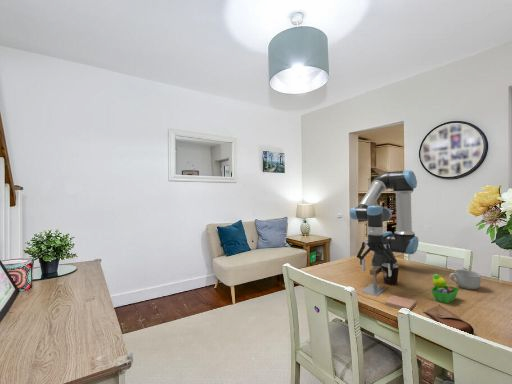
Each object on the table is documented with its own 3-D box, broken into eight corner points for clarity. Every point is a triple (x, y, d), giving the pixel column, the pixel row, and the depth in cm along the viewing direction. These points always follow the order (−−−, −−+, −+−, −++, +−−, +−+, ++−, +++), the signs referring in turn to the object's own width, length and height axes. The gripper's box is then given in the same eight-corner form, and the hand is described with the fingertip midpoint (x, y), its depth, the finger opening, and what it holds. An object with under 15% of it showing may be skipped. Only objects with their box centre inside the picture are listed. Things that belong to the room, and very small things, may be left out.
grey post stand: (372, 283, 146) (371, 264, 146) (387, 286, 140) (386, 267, 140) (361, 292, 134) (360, 271, 134) (377, 296, 128) (376, 275, 128)
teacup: (475, 284, 139) (474, 270, 139) (486, 292, 129) (485, 276, 129) (444, 282, 144) (444, 268, 144) (453, 289, 133) (452, 274, 133)
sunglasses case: (420, 311, 111) (428, 297, 111) (434, 319, 111) (442, 305, 111) (451, 334, 93) (460, 318, 93) (468, 344, 93) (477, 328, 93)
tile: (392, 295, 126) (385, 301, 119) (415, 300, 119) (409, 308, 112) (392, 298, 126) (385, 305, 119) (415, 304, 119) (409, 312, 112)
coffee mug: (401, 286, 140) (401, 268, 140) (384, 285, 142) (384, 267, 142) (394, 279, 151) (394, 262, 151) (378, 278, 153) (378, 261, 153)
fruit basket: (449, 305, 116) (448, 280, 116) (427, 298, 124) (427, 275, 124) (459, 299, 122) (459, 275, 122) (438, 293, 130) (438, 270, 130)
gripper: (349, 233, 145) (351, 270, 145) (398, 237, 128) (400, 280, 128) (355, 231, 151) (356, 267, 151) (402, 235, 134) (404, 276, 134)
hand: (376, 273), depth 140 cm, fingers open, 13 cm apart
